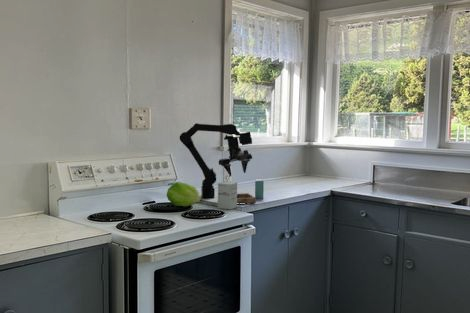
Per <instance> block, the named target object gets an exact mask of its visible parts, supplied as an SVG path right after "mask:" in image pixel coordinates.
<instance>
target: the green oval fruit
mask: <svg viewBox="0 0 470 313" xmlns="http://www.w3.org/2000/svg"><path fill="white" fill-rule="evenodd" d="M166 197H167V200H168V201H169V202H170V203H172V204H173V206H183V207H189V206H190V207H191V206H192V205H195V204H196V203H199V202H200V201H201V199H202V197H201V194H200V193H199V191H198V190H197V188H196V187H195V186H192V185H191V184H188V183H184V182H180V181H177V182H174V183H172V185H170V186H169V188H168V189H167V191H166Z"/></svg>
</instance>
